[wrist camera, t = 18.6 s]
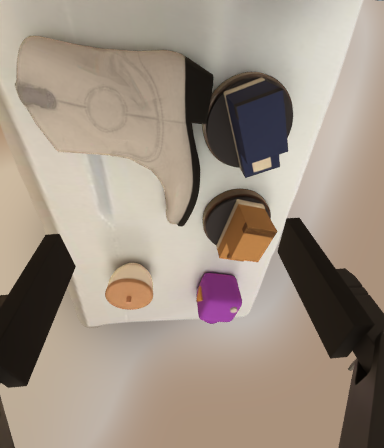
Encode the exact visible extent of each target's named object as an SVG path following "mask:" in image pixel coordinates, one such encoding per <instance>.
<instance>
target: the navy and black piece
mask: <svg viewBox="0 0 384 448" xmlns="http://www.w3.org/2000/svg"><path fill="white" fill-rule="evenodd" d="M292 121H293V109H292V104H291V101H290V98H289V96H288V94H287V93H286V91H285V90H284V89H283V88H282V87H281V86H280V85H278V84H277V83H275V82H274V81H272V80H269V79H266V78H262V77H251V78H245V79H242V80H239V81H237V82H235V83H233V84H232V85H230V86H229V87H228V88H226V89H225V90H224V91H223V92H222V93H221V94H220V95H219V96H218V98H217V99H216V100H215V102H214V104H213V105H212V107H211V110H210V112H209V115H208V119H207V129H206V131H207V138H208V142H209V145H210V147H211V149H212V151H213V153H214V154H215V155H216V157H217V158H218V159H220V160H221V161H222V162H224V163H226V164H227V165H230V166H233V167H239V168H240V169H241V171H242V172H243V174H244V176H245V178H247V177H250V176H253V175H256V174H259V173H262V172H265V171H268V170H271V169H274V168H278V167H280V162H279V154H282V153H285V152H288V143H287V138H288V136H289V133H290V130H291V126H292Z"/></svg>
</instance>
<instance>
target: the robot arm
mask: <svg viewBox="0 0 384 448" xmlns="http://www.w3.org/2000/svg"><path fill="white" fill-rule="evenodd" d="M377 1H384V0H377ZM278 254H279V256H280V258H281V260H282V262H283V264H284V266H285V268H286V270H287V272H288V274H289V276H290V278H291V280H292V282H293V284H294V286H295V288H296V290H297V292H298V294H299V296H300V298H301V300H302V302H303V304H304V306H305V308H306V310H307V312H308V314H309V316H310V318H311V321H312V323H313V324H314V326H315V329H316V331H317V332H318V334H319V337H320V339H321V341H322V343H323V345H324V347H325V349H326V351H327V353H328V355H329V357H330V358H340V357H347V356H348V355H349V354H350V353H351V352H352V351H353V352H354V354H355V356H356V357H357V359H356V360H355V361H354V362H353V363H352V364H351V365H350V367H349V368H348V370H350V371H351V370H352V369H353V368H354V369H353V375H352V379H351V385H350V390H349V395H348V401H347V406H346V411H345V417H344V422H343V428H342V433H341V438H340V443H339V448H384V313H383V312H382V311H381V309H380V308H379V307H378V305H377V304H376V303H375V301H374V300H373V299H372V298H371V296H370V295H368V293H367V291H366V290H365V288H363V287H362V285H361V283H360V282H359V281H358V279H357V278H356V277H355V276H354V275H353V274H352V273H350V272H349V271H348V270H346V269H345V268H344V269H335V267H334V266H333V265H332V263H331V262H330V260H329V259H328V258H327V256H326V255H325V253H324V252H323V251H322V249H321V248H320V246H319V245H318V244H317V242H316V241H315V239H314V238H313V236H312V235H311V233H310V232H309V231H308V229H307V228H306V226H305V225H304V224H303V222H302V221H301V219H300V218H287V219H286V222H285V226H284V230H283V233H282V237H281V241H280V244H279V248H278ZM75 267H76V266H75V264H74V262H73V260H72V258H71V256H70V254H69V252H68V250H67V248H66V246H65V244H64V242H63V240H62V238H61V236H60V234H51V235H45V237H44V238H43V240H42V242H41V243H40V245H39V247H38V248H37V250H36V251H35V253H34V254H33V256H32V258H31V259H30V261H29V262H28V264H27V266H26V267H25V269H24V270H23V272H22V274H21V275H20V277H19V279H18V280H17V282H16V283H15V285H14V286H13V288H12V290H11V291H10V293H9V294H8V295H1V296H0V383H2V384H4V385H5V386H7V387H21V386H27V384H28V382H29V379H30V377H31V374H32V372H33V369H34V367H35V365H36V362H37V360H38V357H39V355H40V352H41V350H42V347H43V345H44V343H45V340H46V337H47V335H48V333H49V330H50V328H51V326H52V323H53V321H54V318H55V316H56V313H57V311H58V308H59V306H60V304H61V301H62V299H63V296H64V294H65V291H66V289H67V286H68V284H69V282H70V279H71V277H72V274H73V272H74V269H75ZM0 448H15V447H14V443H13V440H12V436H11V432H10V429H9V426H8V422H7V419H6V415H5V411H4V408H3V404H2V401H1V397H0Z"/></svg>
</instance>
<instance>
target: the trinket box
mask: <svg viewBox="0 0 384 448" xmlns="http://www.w3.org/2000/svg"><path fill="white" fill-rule="evenodd" d="M105 296H106V299H107V300H108V302H109V303H110V304H112V305H113V306H116V307H118V308H122V309H130V310H131V309H139V308H142V307H145V306H146V305H148V304H149V303H150V302H151V301H152V298H153V282H152V278H151V275H150V273H149V272H148V271H147V270H146V269H145V268H144V267H143V266H142V265H140V264H138V263H127V264H125V265H123V266H121V267H119V268H118V269H117V270H116V271H115V272H114V273H113V275H112V276H111V278H110V280H109V283H108V287H107V289H106V293H105Z"/></svg>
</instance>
